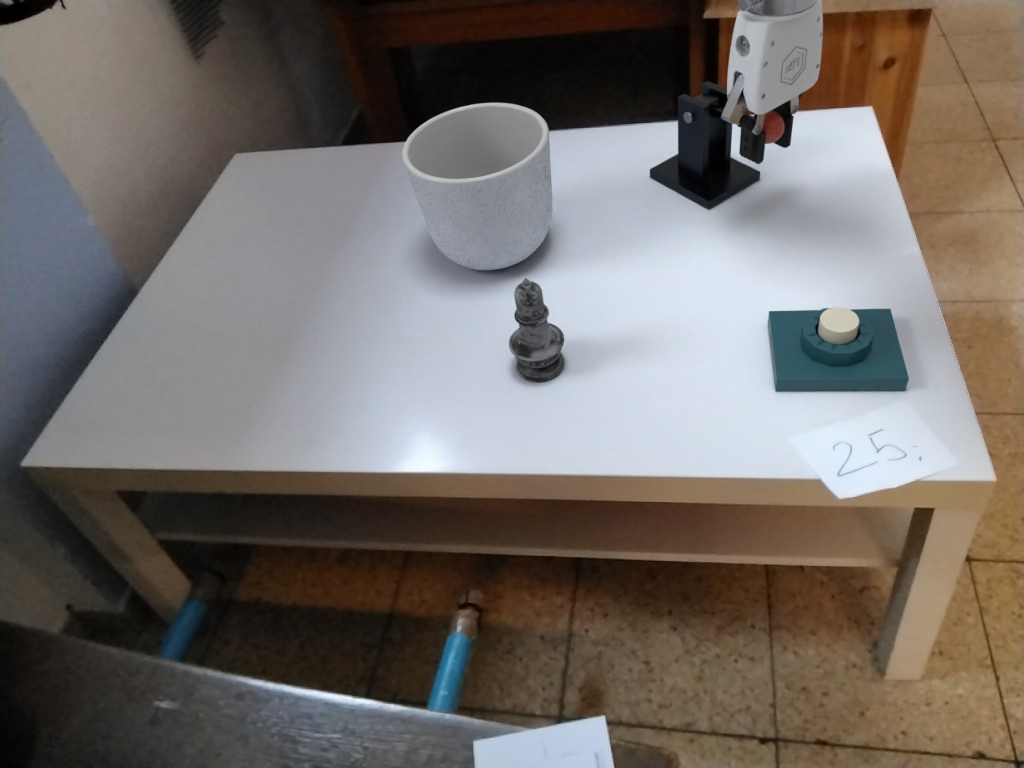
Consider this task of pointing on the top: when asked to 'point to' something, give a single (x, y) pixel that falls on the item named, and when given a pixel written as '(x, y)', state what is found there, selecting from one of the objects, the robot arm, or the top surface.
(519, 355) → the stone chess piece
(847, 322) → the button
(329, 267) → the top surface
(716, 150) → the lever base
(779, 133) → the lever
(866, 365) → the block
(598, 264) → the top surface
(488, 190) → the planter
